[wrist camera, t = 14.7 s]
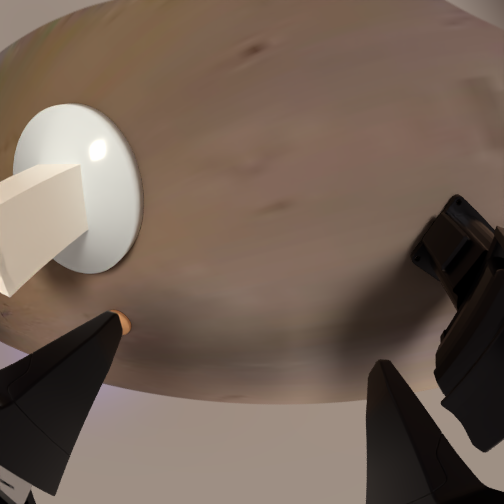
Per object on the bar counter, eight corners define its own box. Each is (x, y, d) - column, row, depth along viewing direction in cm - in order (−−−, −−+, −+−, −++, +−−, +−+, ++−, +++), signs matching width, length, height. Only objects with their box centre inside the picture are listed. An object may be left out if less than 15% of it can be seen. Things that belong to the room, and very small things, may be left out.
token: (133, 319, 29) (130, 322, 28) (129, 335, 30) (127, 338, 30) (108, 305, 28) (106, 308, 28) (106, 322, 30) (104, 325, 29)
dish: (169, 138, 19) (160, 141, 17) (124, 291, 27) (117, 300, 26) (35, 87, 17) (24, 89, 16) (21, 224, 25) (13, 229, 24)
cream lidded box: (80, 164, 19) (-18, 215, 10) (88, 229, 22) (9, 297, 13) (37, 164, 20) (-48, 209, 11) (47, 221, 22) (-26, 277, 14)
